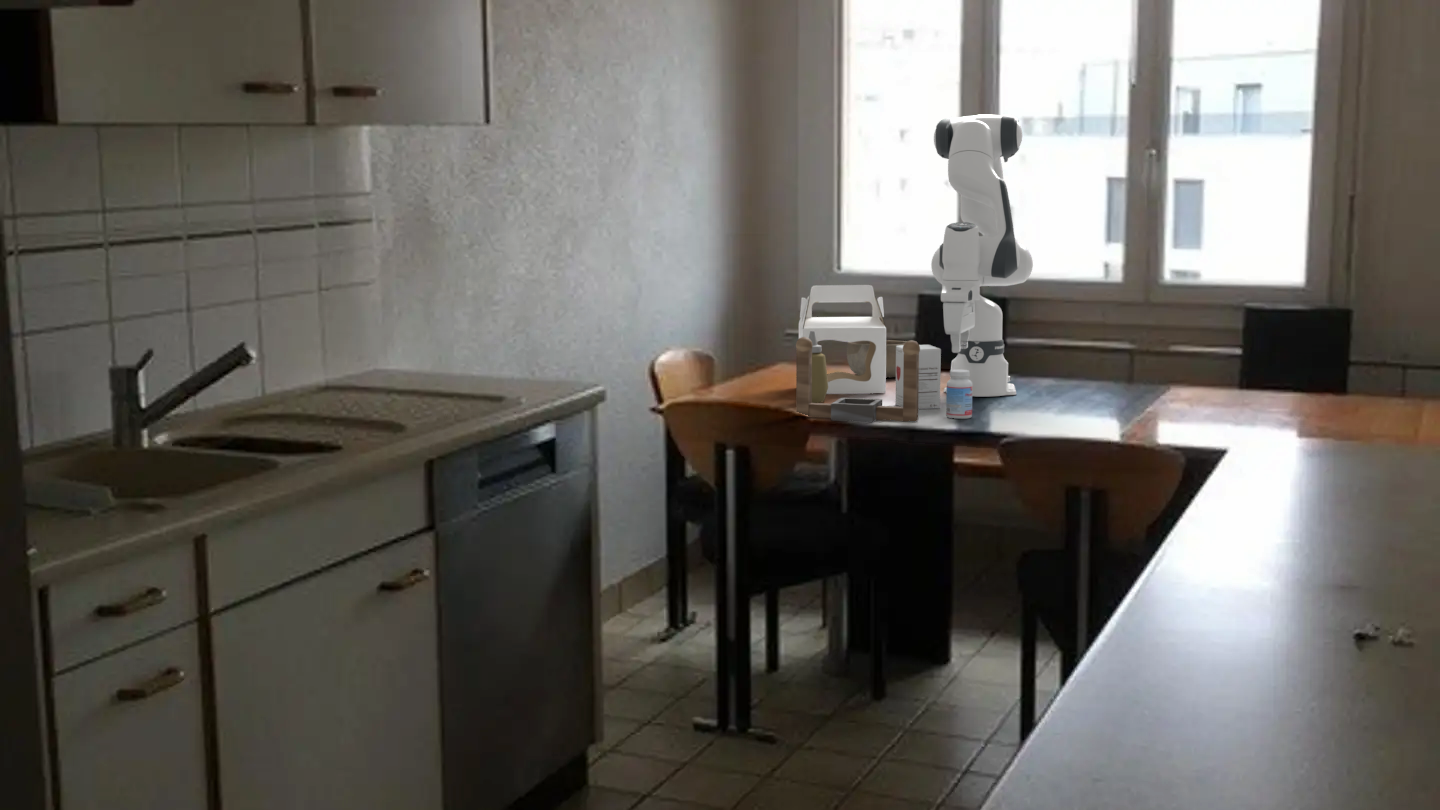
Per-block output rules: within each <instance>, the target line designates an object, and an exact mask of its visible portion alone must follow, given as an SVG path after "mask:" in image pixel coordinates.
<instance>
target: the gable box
mask: <svg viewBox="0 0 1440 810" xmlns="http://www.w3.org/2000/svg"><path fill="white" fill-rule="evenodd" d="M800 299H801V300H800V309H799V311H800V312H799V321H798V339H799V338H801V337H807V338H809V334H810V331H815V335H816V340H817V343H819V342H820V341H836V342H837V341H838V342H843V343H844V342H845V343H848V342H856V341H870V345H869V349H868V351H867V354H866V357H865V366H866V370H865V373H864V374H862V375H857V374H854V373H851V372H845V371H834V372H829V373H827V380H828V390H827V393H826V395H854V394H855V395H866V394H867V395H872V394H873V393H885V394H886V393H887V385H886V384H887V379H886V340H887V326H886V322H885V319H884V317H885V311H884V299H883V296H878V297H877V295H875V291H874V286H873V285H872V284H829V285H828V284H817V285H816V284H813V285H812V286H811V287H810V291H809V295H808V296H807V298H806V297H805V296H804V297H803V296H802V297H801V298H800ZM819 303H821V304H822V303H823V304H824V303H866V304H867V303H869V304H870V305H871V316H818V317H817V316H813V314H812V313H813V312H812V311H813V309H812V308H813V306H814V304H819ZM870 393H872V394H870ZM873 395H874V394H873Z"/></svg>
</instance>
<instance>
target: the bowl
mask: <svg viewBox="0 0 1440 810" xmlns="http://www.w3.org/2000/svg"><path fill="white" fill-rule="evenodd" d="M906 342H907V341H906V340H905V341H904V340H892V339H891V340H889V339H888V340H887V339H886V378H887V377H889V378H896V346H899V345H904V344H905V343H906ZM869 345H870V341H856V342H847V347H846V358H847V359H846V360H847V363H848V365H849V368H850V370H851V372H852V373H853V374H854V375H862V374H864V373H865V370H866V366H865V357H866V354H867V351H868V349H869Z"/></svg>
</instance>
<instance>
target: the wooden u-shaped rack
mask: <svg viewBox="0 0 1440 810" xmlns="http://www.w3.org/2000/svg"><path fill="white" fill-rule="evenodd" d="M905 342H906V343H905V344H904V346H903V352H904V372H903V407H900V406H890V405H889V406H888V405H883V399H882V398H881V399H879V398H861V397H860V398H859V397H858V398H856V397H840V398H838V399H837V400H835V401H834V402H831V403H823V402H820V403H812V347H813V344H812V341H811V340H810V339H809V338H807V337H801V338H799V337H798V339H797V340H796V342H795V349H796V351H795V353H796V361H795V362H796V367H795V368H796V370H795V371H796V373H795V374H796V377H795V378H796V394H795V395H796V397H795V398H796V399H795V400H796V401H795V402H796V403H795V405H796V412H799V413H802V414H805V415H808V416H812V417H811V418H828V419H829V418H830V421H835V422H836V421H837V422H839V421H840V422H858V423H859V422H861V423H874V422H875V421H891V420H895V422H908V421H916V422H917V421H919V409H918V395H919V352H920V346H919V345H920V344H919V343H918V342H917V341H916V340H912V339H911V340H907V341H905ZM796 412H795V413H796Z"/></svg>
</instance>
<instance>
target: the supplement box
mask: <svg viewBox="0 0 1440 810" xmlns="http://www.w3.org/2000/svg"><path fill="white" fill-rule="evenodd" d="M903 346H904V345H899V346H896V377H895V405H897V407H903V372H904V352H903ZM919 346H920V352H919V395H918V410H929V409H940V408H941V373H942V372H941V368H942V367H941V365H942V363H941V358H942V357H941V356H942V355H941V354H942V349H941V348H940V347H936V346H933V345H931V344H919Z"/></svg>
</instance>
